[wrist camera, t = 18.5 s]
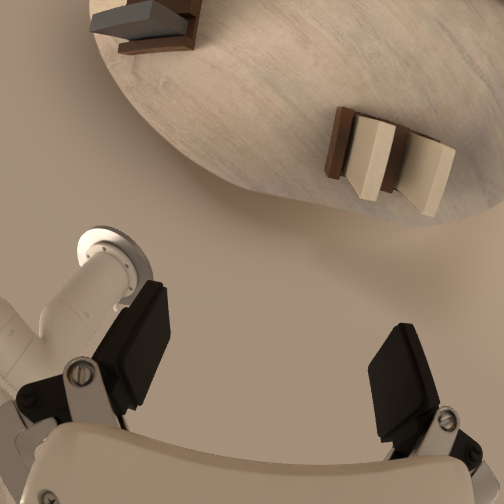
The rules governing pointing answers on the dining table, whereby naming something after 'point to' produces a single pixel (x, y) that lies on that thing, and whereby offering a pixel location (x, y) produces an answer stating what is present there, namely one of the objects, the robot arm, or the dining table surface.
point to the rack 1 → (185, 5)
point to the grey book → (139, 22)
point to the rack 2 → (342, 141)
